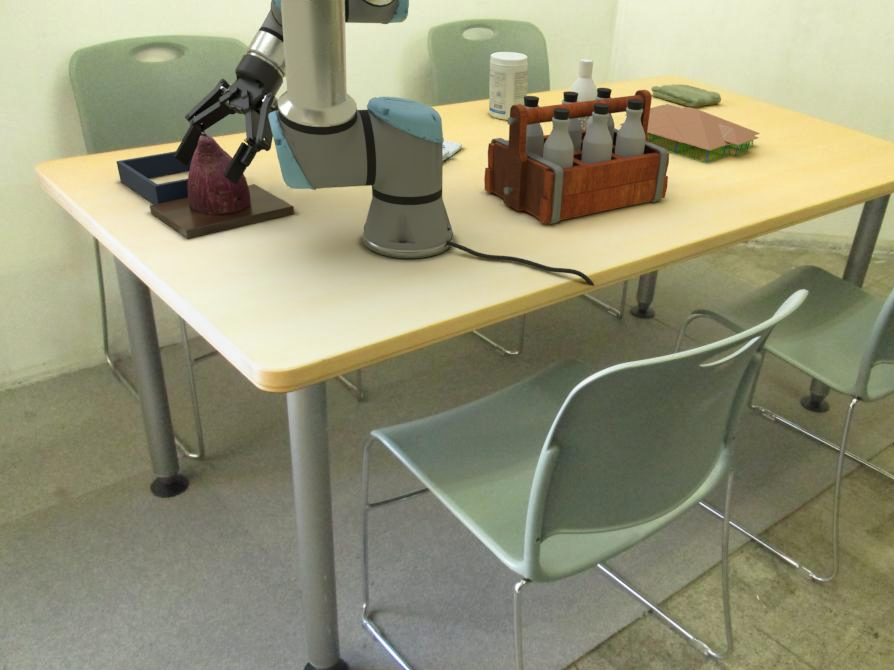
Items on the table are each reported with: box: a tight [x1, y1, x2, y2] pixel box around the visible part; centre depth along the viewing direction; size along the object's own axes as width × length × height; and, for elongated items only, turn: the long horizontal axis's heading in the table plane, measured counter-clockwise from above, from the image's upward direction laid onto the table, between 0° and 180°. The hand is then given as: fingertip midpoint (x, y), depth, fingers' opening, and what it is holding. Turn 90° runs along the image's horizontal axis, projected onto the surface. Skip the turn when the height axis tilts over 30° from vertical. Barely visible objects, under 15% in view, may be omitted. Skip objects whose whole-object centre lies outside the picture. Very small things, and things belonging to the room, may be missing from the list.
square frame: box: [116, 150, 193, 205], centre depth 160 cm, size 17×17×4 cm
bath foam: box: [569, 58, 598, 130], centre depth 191 cm, size 7×7×20 cm
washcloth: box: [650, 84, 722, 108], centre depth 244 cm, size 13×18×3 cm
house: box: [619, 103, 760, 164], centre depth 207 cm, size 23×33×8 cm
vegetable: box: [187, 132, 251, 215], centre depth 146 cm, size 10×10×15 cm
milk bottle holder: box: [483, 87, 670, 225], centre depth 165 cm, size 21×35×19 cm, turn 126°
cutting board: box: [149, 183, 295, 239], centre depth 151 cm, size 14×20×2 cm
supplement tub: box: [488, 51, 529, 121], centre depth 214 cm, size 10×10×15 cm
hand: (204, 170), depth 145 cm, fingers open, 13 cm apart
